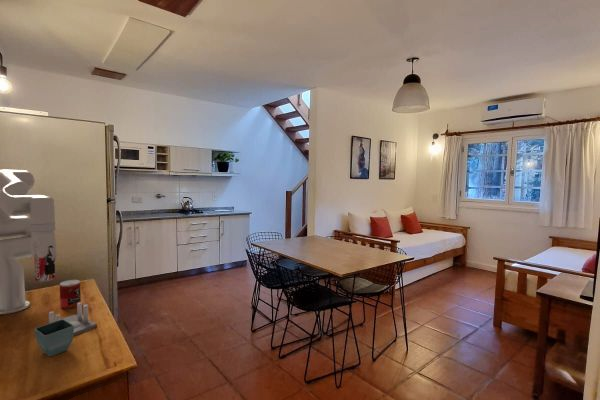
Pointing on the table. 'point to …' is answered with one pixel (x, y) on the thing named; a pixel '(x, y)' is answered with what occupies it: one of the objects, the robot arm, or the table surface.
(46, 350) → the flower pot
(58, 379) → the table surface
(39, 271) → the soda can
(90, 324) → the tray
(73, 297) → the canned food
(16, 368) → the table surface
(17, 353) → the table surface
